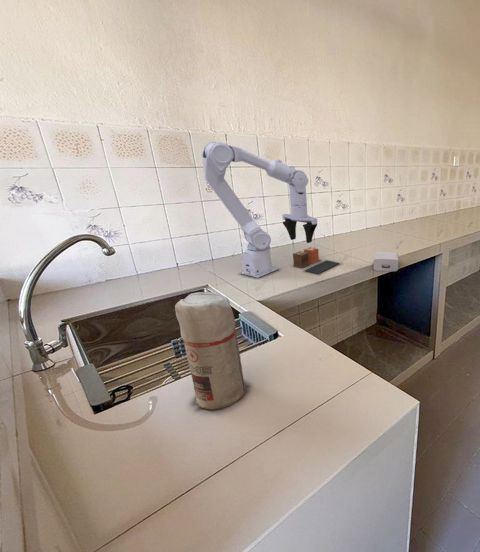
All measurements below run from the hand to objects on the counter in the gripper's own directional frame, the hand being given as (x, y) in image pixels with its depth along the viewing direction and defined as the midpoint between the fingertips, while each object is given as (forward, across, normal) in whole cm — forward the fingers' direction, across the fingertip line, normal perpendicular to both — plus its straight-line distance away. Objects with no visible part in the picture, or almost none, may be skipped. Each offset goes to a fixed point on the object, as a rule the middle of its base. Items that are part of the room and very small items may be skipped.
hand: (301, 240), depth 126 cm
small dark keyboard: (+9, -9, -1) cm, 13 cm away
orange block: (+9, -1, -4) cm, 10 cm away
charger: (+9, -28, -16) cm, 34 cm away
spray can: (+10, -35, +64) cm, 73 cm away
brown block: (+9, -1, +2) cm, 9 cm away
